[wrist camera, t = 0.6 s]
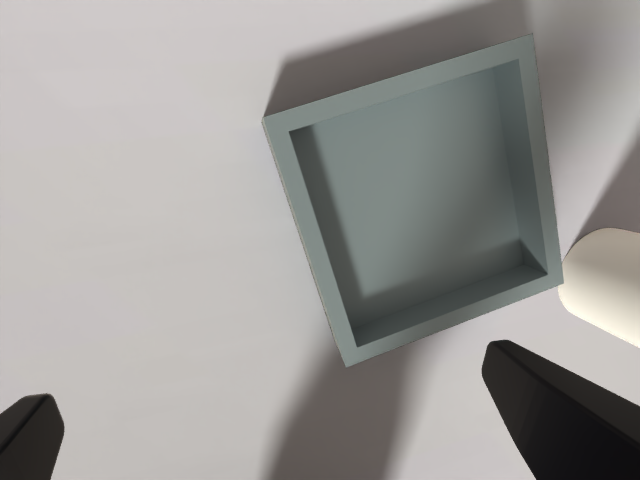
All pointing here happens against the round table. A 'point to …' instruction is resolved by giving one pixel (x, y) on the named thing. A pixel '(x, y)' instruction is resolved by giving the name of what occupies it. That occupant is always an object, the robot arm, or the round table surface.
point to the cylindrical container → (605, 282)
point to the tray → (422, 197)
